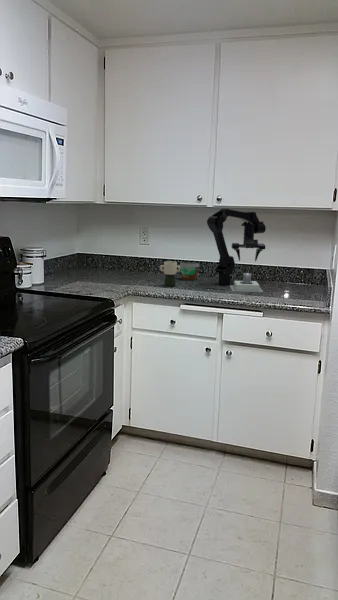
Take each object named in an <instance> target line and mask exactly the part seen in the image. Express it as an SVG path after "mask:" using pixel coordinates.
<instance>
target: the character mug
mask: <svg viewBox="0 0 338 600" xmlns="http://www.w3.org/2000/svg"><path fill="white" fill-rule="evenodd" d="M159 269H160V272H163V273H164V275H165V276H164V282H163V284H164V286H167V287H168V286H169V287H171V286H172V287H173V286H175V285H177V283H176V276H175V275H176V274H177V272H178V273H179V272H180V273H181V266H180V265H178V262H177V261H173V260H171V261H164V262H163V264H160V267H159Z"/></svg>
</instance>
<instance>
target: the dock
mask: <svg viewBox="0 0 338 600" xmlns="http://www.w3.org/2000/svg"><path fill="white" fill-rule="evenodd" d="M242 281H243V280H234V281H233V285H232V284H230V285H229V287H230V290H231V291H232V293H251V294H252V293H262V294H264V291H263V289H262V288H261V286H260V284H259V283H258V282H257V281H256V280H251V284H242Z"/></svg>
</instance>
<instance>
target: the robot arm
mask: <svg viewBox="0 0 338 600" xmlns="http://www.w3.org/2000/svg"><path fill="white" fill-rule="evenodd" d="M228 217H230V218H236V219H240V220H241V221H242V222H243V221H244V222H243V223H241V227H243V242H242V244H240V243H239V242H232V243H231V247H230V248H231V249H232V250H233V251H235V252H236V254H237V257H238V261H239V262H240V261H241V255H240V254H241V251H240V249H241V248H244V249H255V257H254V262H257V260H258V258H259V255H260V253H261V252H262V251H264V250H266V244H264V243H260V242H259V240H258V239H255V238H254V237H255V234H264V233H266V224H264V221H260V220H259V218H258V216H257V212H255V211H248V210H247V211H246V210H245V211H239V210H234V209H229V208H224V207H223V208H221V209H219V210H218V211H217V212H214V213H213V214H212V215H210V216H209V217H208V218H207V221H206V224H207V226H208V229H209V230H210V231H211V233H212V234H213V237H214V240H215V244H216V247H217V251H218V254H219V259H218V263H219V264H218V266H217V267H216V268H215V273H217V285H218V286H230V285H231V283H232V282H231V280H232V279H231V278H232V277H231V275H232V274H233V272H234V269H235V267H236V265H235V264H236V262H235V257H234V256H231V255H229V252H228V247H227V244H226V239H225V237H224V233H223V229H224V223H225V222H226V221H227V218H228Z"/></svg>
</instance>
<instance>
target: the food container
mask: <svg viewBox="0 0 338 600" xmlns="http://www.w3.org/2000/svg"><path fill="white" fill-rule="evenodd" d="M179 266H180V273H181V274H180V275H181V280H183V281H197V280H198V275H199V267H200V262H197V263H191V262H182V261H180V262H179Z"/></svg>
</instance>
